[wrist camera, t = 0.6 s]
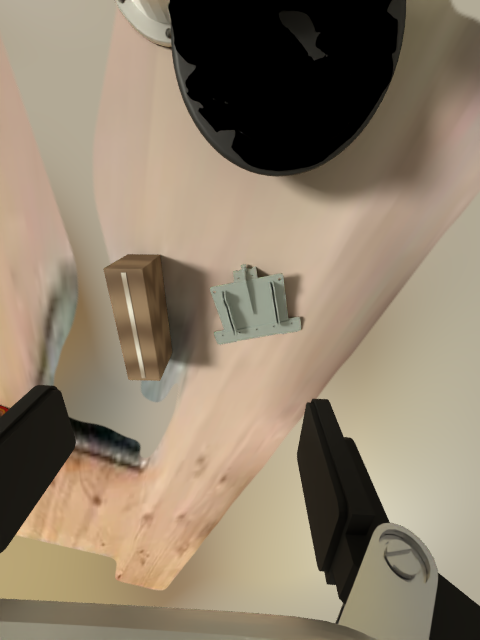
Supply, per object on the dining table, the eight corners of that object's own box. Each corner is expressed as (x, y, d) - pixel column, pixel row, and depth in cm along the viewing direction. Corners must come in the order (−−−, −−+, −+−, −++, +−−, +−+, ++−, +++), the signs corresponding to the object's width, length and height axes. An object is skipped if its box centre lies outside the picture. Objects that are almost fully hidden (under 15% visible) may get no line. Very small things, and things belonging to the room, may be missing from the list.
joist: (127, 254, 41) (103, 268, 34) (160, 254, 41) (141, 269, 34) (145, 351, 50) (128, 380, 42) (172, 352, 49) (159, 380, 42)
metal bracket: (193, 293, 38) (298, 272, 37) (196, 271, 43) (291, 252, 41) (219, 355, 48) (303, 341, 46) (220, 332, 52) (296, 319, 51)
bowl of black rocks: (213, 192, 37) (186, 197, 21) (169, -11, 29) (61, -290, 12) (359, 160, 35) (463, 137, 19) (361, -68, 27) (559, -503, 10)
